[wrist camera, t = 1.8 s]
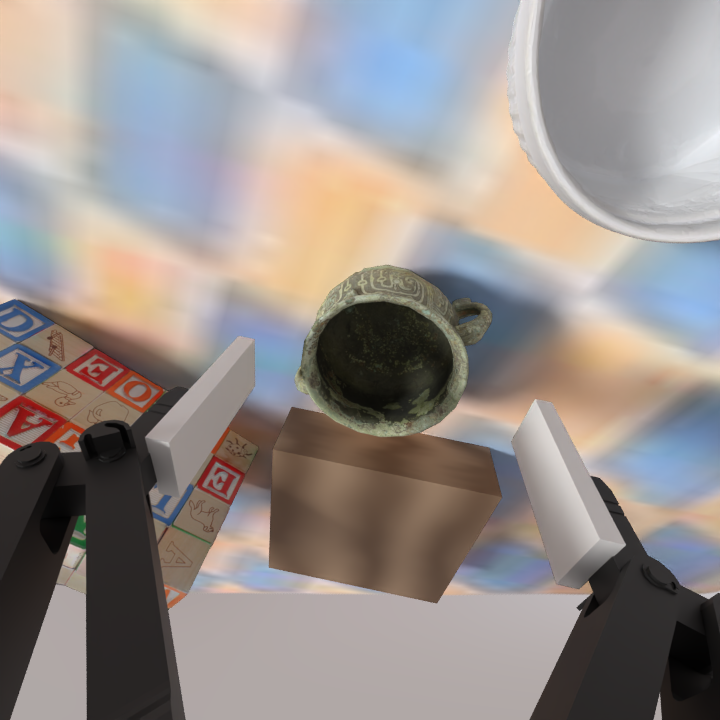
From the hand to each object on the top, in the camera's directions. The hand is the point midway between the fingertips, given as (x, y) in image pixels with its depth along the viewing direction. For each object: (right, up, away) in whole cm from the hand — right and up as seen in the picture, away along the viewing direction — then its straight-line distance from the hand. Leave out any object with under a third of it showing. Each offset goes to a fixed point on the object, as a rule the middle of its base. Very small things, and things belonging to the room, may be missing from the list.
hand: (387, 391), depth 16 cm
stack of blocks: (-20, -2, +13) cm, 24 cm away
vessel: (+1, +4, +7) cm, 8 cm away
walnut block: (0, -10, +16) cm, 19 cm away
